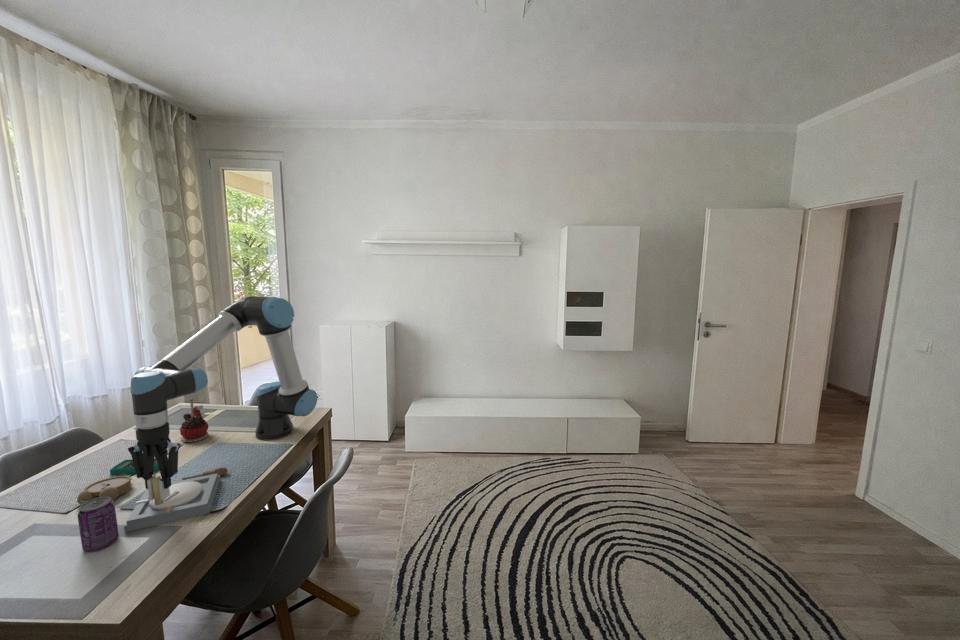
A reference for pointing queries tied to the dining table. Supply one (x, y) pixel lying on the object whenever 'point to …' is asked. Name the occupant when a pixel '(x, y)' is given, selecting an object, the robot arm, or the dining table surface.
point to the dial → (175, 494)
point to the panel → (199, 506)
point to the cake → (194, 425)
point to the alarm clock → (105, 489)
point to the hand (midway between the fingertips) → (159, 497)
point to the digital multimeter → (128, 467)
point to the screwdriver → (209, 473)
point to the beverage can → (97, 523)
